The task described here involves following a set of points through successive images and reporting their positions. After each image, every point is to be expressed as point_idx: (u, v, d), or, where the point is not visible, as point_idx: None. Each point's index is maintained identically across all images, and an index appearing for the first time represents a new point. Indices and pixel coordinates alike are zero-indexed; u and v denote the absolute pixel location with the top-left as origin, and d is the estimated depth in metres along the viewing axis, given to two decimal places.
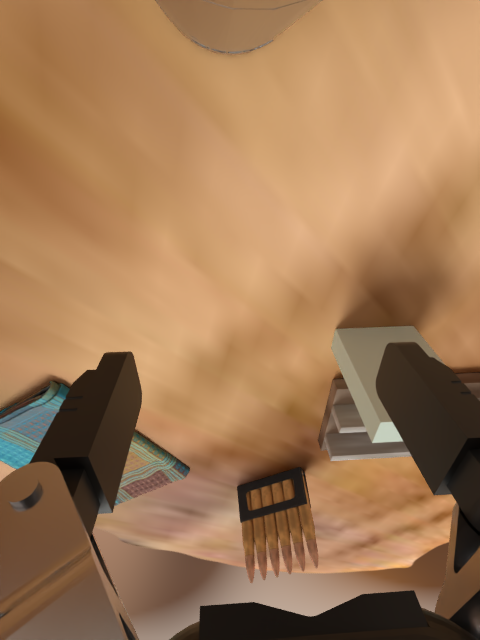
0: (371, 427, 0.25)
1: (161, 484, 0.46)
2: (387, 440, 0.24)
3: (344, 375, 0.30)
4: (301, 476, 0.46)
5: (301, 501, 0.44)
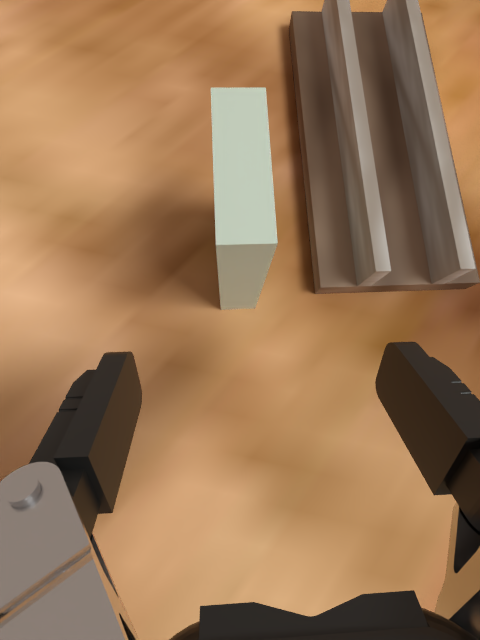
0: (253, 251, 0.14)
1: None
2: (270, 218, 0.14)
3: (255, 292, 0.20)
4: None
5: None
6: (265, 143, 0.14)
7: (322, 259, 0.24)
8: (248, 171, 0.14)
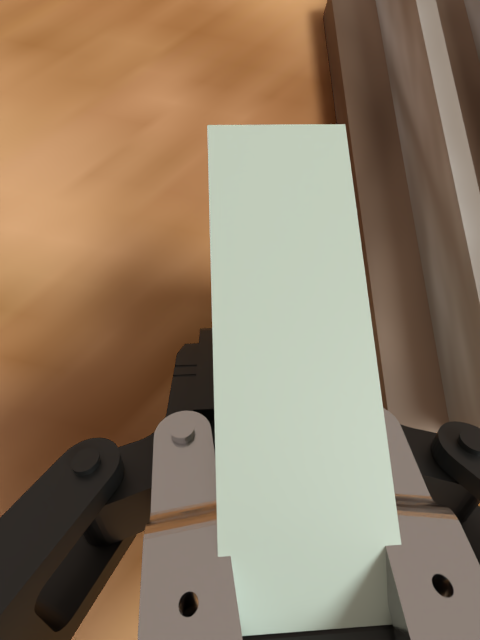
0: None
1: None
2: (383, 528, 0.05)
3: None
4: None
5: None
6: (353, 279, 0.05)
7: (391, 384, 0.14)
8: (310, 368, 0.05)
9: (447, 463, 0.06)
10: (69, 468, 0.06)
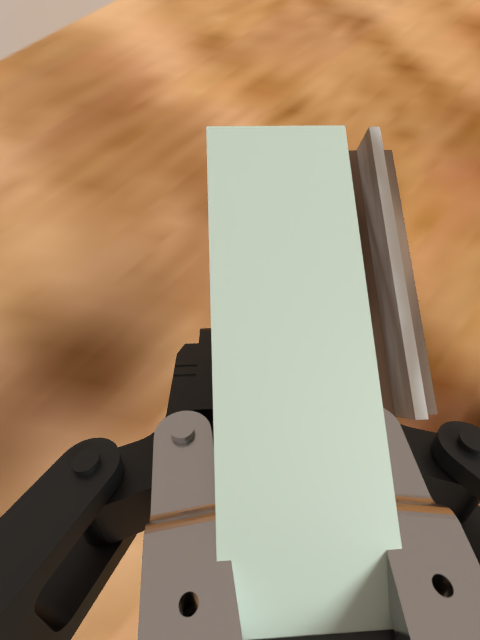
0: None
1: None
2: (383, 533, 0.05)
3: None
4: None
5: None
6: (353, 281, 0.05)
7: None
8: (309, 371, 0.05)
9: (447, 463, 0.06)
10: (69, 468, 0.06)
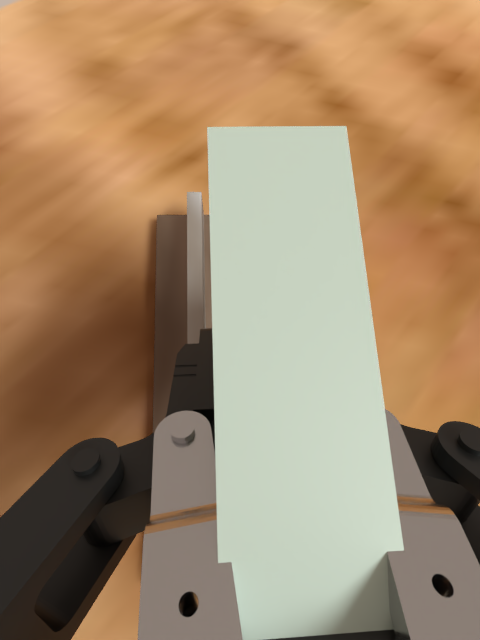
0: None
1: None
2: (385, 535, 0.04)
3: None
4: None
5: None
6: (355, 282, 0.05)
7: None
8: (312, 373, 0.05)
9: (447, 463, 0.06)
10: (69, 468, 0.06)
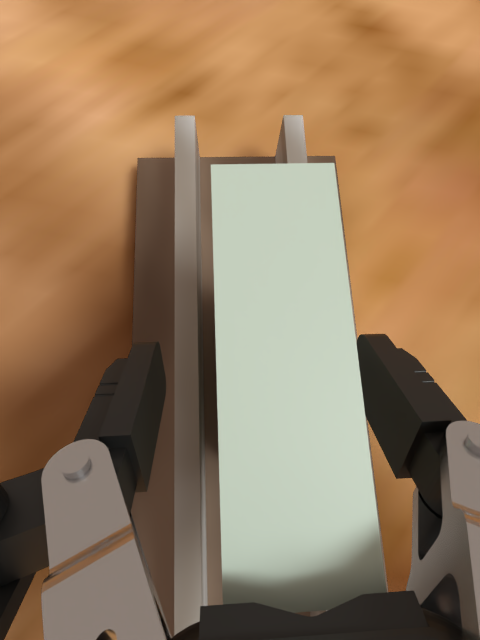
0: None
1: None
2: (364, 524, 0.05)
3: None
4: None
5: None
6: (341, 304, 0.06)
7: None
8: (302, 384, 0.06)
9: None
10: None
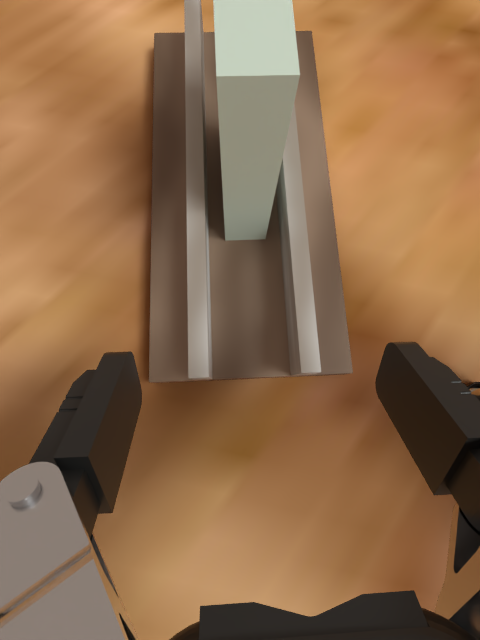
0: (266, 96, 0.11)
1: None
2: (289, 45, 0.10)
3: (267, 201, 0.17)
4: None
5: None
6: None
7: (155, 345, 0.19)
8: None
9: None
10: None
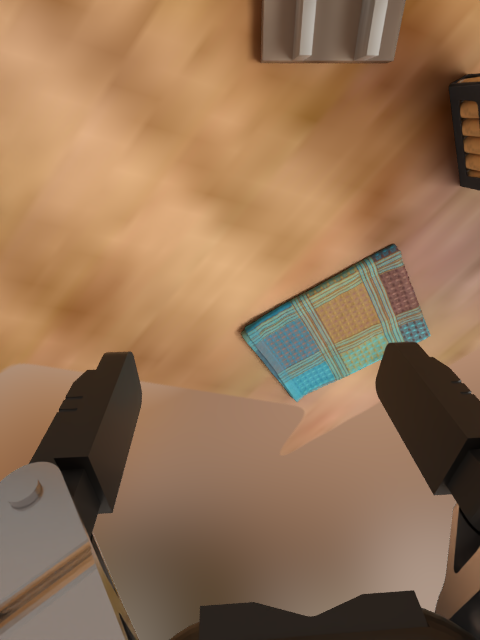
0: None
1: (402, 277, 0.42)
2: None
3: None
4: (458, 85, 0.30)
5: None
6: None
7: (267, 28, 0.27)
8: None
9: None
10: None
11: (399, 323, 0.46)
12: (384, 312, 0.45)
